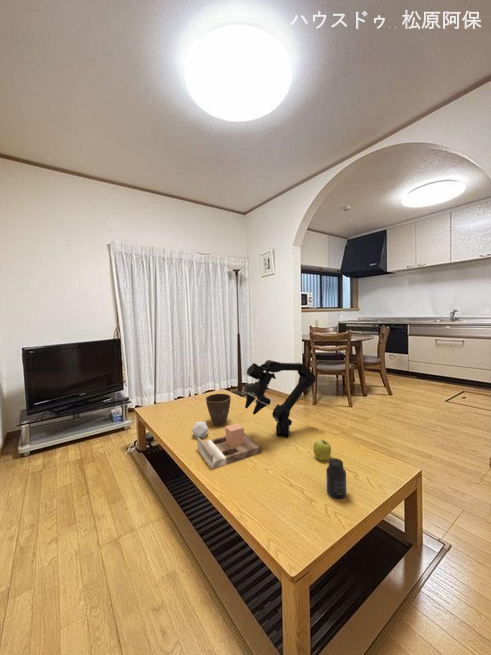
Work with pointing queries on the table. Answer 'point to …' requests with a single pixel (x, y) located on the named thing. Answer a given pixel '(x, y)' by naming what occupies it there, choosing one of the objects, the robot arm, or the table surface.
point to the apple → (322, 449)
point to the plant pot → (218, 408)
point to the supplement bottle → (336, 479)
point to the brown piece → (226, 451)
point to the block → (234, 435)
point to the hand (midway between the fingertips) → (249, 411)
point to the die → (200, 429)
